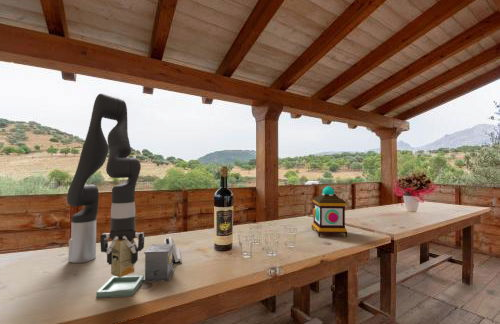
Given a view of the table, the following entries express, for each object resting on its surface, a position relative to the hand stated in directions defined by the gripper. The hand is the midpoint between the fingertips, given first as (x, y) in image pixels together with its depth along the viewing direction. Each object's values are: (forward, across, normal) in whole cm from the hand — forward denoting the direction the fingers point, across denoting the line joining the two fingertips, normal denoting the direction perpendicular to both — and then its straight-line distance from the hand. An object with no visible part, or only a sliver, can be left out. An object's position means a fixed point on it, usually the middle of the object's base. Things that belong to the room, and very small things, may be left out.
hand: (122, 263), depth 83 cm
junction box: (+8, +10, +9) cm, 16 cm away
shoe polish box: (+3, 0, 0) cm, 3 cm away
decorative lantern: (+9, +100, +61) cm, 117 cm away
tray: (+8, 0, 0) cm, 8 cm away
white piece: (+9, +11, +27) cm, 31 cm away
